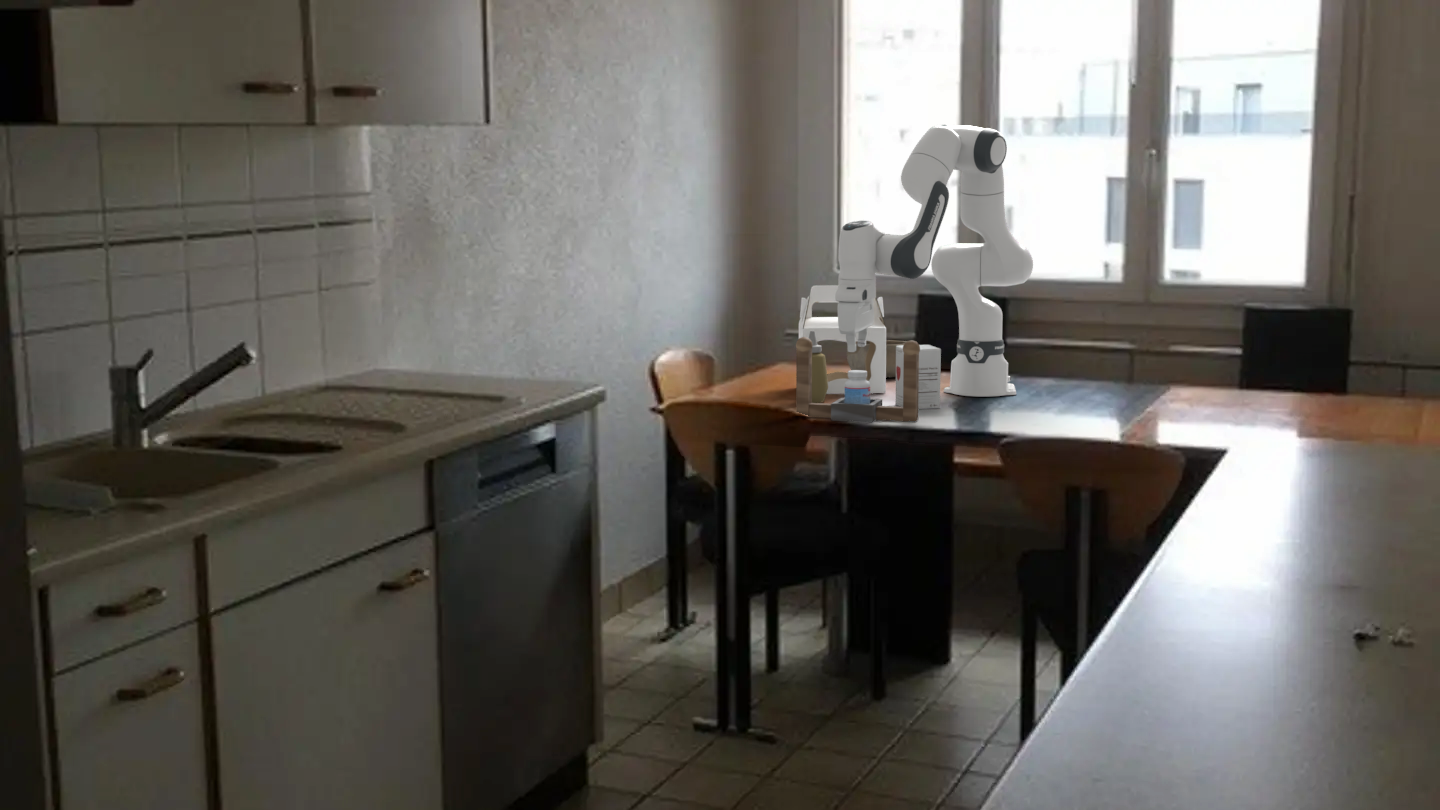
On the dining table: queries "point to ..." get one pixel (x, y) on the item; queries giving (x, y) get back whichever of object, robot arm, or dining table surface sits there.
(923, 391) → the supplement box
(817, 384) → the squeeze bottle
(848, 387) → the pill bottle
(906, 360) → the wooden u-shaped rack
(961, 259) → the robot arm
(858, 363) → the bowl
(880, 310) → the gable box
